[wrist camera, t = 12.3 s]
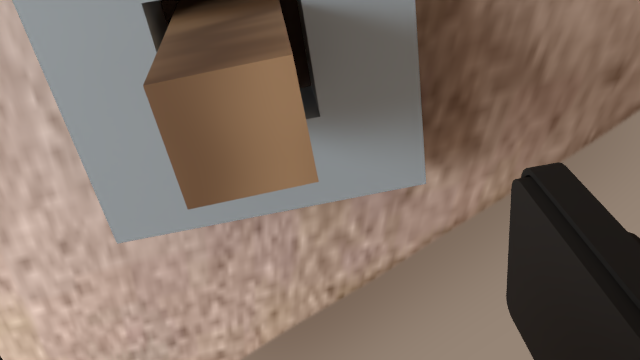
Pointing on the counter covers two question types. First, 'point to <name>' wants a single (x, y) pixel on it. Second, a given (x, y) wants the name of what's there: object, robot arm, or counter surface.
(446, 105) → the counter surface
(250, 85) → the square bit
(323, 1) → the socket block
